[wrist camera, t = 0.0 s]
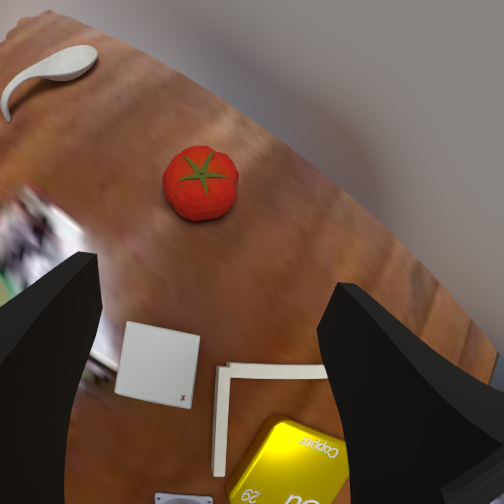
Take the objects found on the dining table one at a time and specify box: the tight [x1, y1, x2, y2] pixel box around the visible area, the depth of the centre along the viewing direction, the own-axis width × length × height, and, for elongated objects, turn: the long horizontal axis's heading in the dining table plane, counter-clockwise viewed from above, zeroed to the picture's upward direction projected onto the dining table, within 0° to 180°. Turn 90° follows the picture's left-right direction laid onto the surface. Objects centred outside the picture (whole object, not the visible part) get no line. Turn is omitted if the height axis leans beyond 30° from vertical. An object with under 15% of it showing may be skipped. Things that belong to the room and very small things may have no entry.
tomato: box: [163, 146, 239, 221], centre depth 42 cm, size 11×11×8 cm
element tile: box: [225, 415, 349, 504], centre depth 34 cm, size 15×15×5 cm
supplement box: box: [115, 321, 200, 409], centre depth 31 cm, size 7×7×13 cm
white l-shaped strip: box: [211, 362, 328, 477], centre depth 36 cm, size 16×19×4 cm
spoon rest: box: [0, 45, 98, 122], centre depth 42 cm, size 24×12×7 cm, turn 139°
